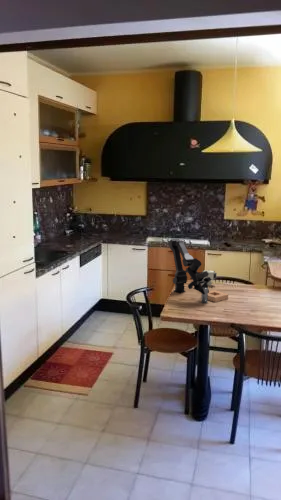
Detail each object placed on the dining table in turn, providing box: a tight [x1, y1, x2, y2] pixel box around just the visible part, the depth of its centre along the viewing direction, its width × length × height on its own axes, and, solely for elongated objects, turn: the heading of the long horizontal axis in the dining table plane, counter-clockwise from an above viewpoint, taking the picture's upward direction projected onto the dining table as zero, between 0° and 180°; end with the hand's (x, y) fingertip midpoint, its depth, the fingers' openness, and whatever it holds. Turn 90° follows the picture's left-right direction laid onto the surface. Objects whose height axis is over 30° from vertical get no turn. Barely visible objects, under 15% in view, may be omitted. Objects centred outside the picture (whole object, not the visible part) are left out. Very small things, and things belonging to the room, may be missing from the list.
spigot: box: [201, 287, 209, 304], centre depth 268 cm, size 4×4×10 cm
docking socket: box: [200, 289, 229, 303], centre depth 278 cm, size 13×13×3 cm
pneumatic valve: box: [200, 269, 217, 287], centre depth 310 cm, size 6×12×12 cm, turn 77°
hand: (206, 293), depth 266 cm, fingers closed on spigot, 4 cm apart
